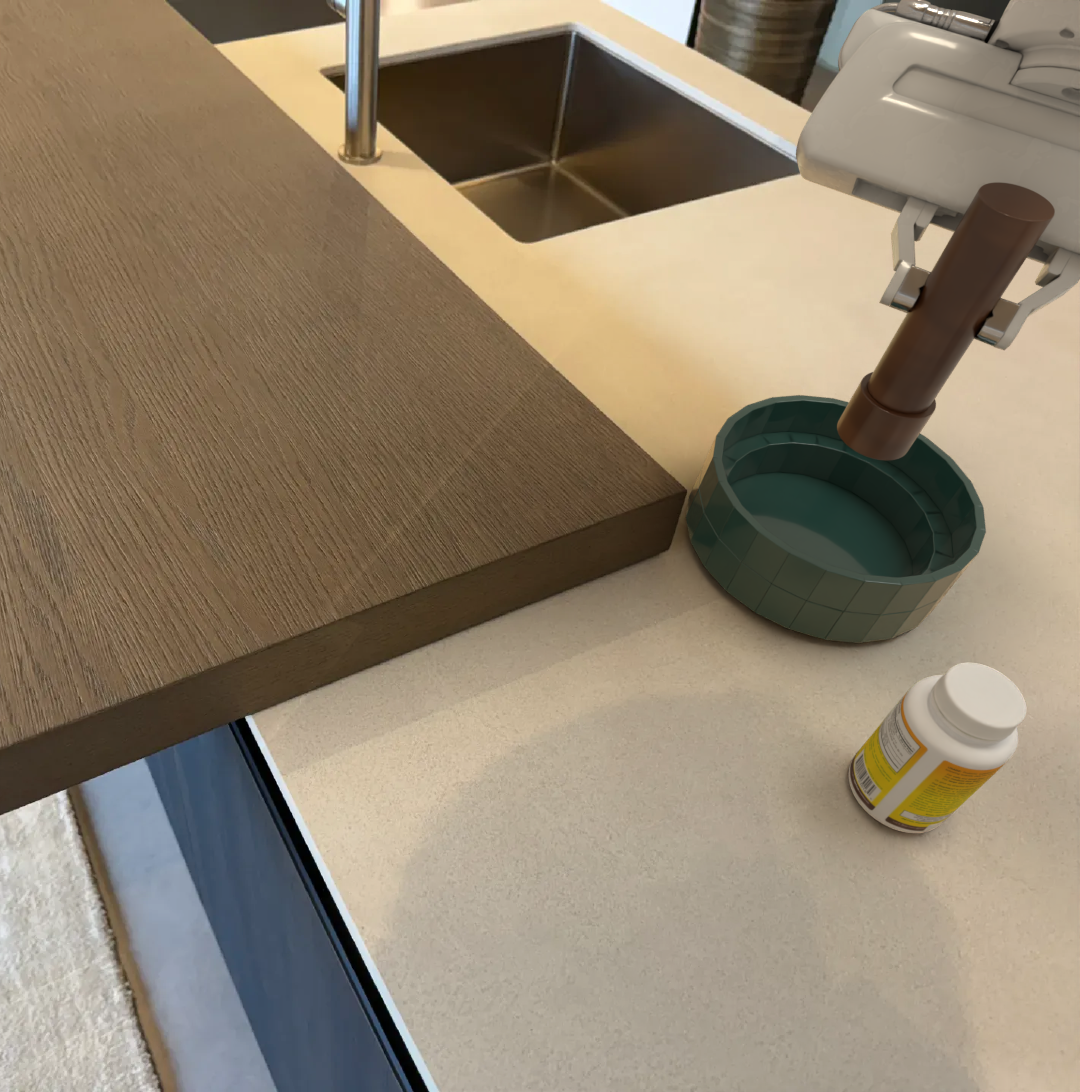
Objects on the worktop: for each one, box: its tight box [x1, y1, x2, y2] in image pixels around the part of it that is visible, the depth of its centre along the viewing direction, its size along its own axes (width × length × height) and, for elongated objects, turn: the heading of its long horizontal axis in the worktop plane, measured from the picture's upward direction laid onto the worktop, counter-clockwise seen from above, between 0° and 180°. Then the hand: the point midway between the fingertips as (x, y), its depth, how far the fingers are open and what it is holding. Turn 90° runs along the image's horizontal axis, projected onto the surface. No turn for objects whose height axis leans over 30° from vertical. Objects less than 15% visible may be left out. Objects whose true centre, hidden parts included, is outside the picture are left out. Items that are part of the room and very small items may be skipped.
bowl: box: [685, 394, 987, 644], centre depth 69 cm, size 17×17×6 cm
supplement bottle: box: [848, 661, 1027, 834], centre depth 56 cm, size 6×6×10 cm
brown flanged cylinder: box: [837, 182, 1055, 460], centre depth 50 cm, size 4×4×14 cm
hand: (943, 324), depth 49 cm, fingers closed on brown flanged cylinder, 3 cm apart
